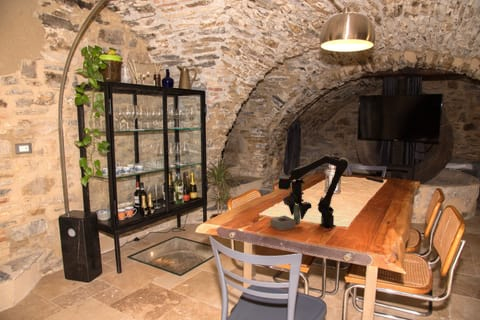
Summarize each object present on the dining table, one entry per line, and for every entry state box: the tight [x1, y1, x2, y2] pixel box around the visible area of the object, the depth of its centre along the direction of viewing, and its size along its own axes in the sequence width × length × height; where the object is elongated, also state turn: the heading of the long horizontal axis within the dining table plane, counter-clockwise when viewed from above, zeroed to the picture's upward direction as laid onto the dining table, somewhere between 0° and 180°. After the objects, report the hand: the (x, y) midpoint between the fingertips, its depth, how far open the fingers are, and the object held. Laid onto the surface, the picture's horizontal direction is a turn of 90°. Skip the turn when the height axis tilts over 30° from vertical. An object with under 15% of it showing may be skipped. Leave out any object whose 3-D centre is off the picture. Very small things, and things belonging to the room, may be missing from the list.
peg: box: [293, 204, 301, 224], centre depth 183 cm, size 4×4×10 cm
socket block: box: [269, 215, 297, 232], centre depth 178 cm, size 10×10×4 cm
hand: (296, 217), depth 184 cm, fingers open, 8 cm apart
